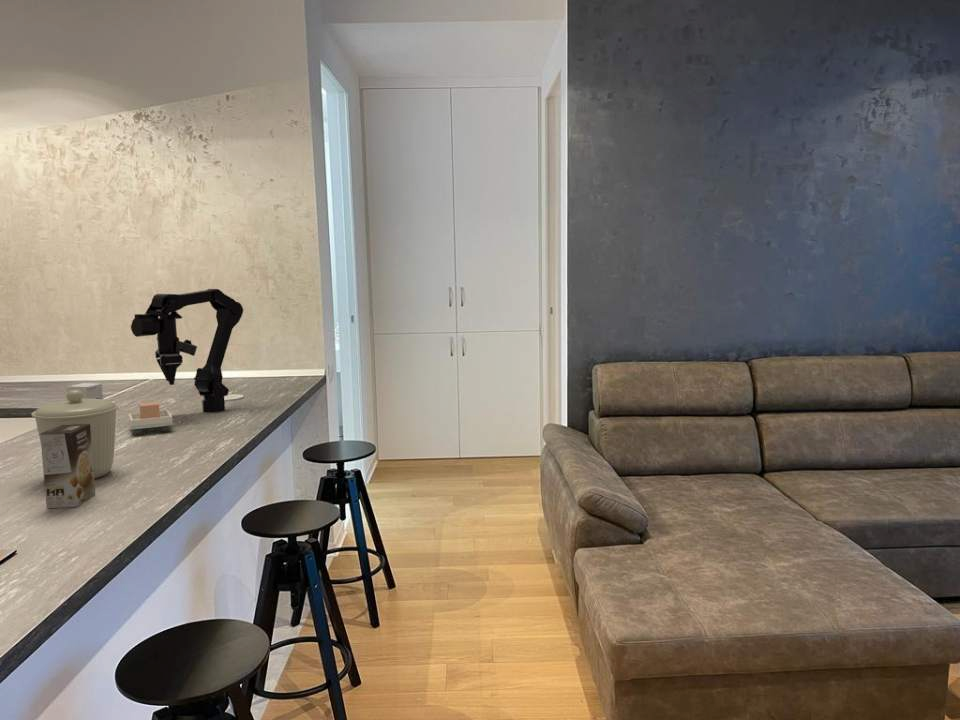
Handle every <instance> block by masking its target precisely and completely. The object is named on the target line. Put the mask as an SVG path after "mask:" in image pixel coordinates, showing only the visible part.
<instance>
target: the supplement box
mask: <svg viewBox="0 0 960 720" xmlns="http://www.w3.org/2000/svg"><path fill="white" fill-rule="evenodd" d="M71 390H80V391H81V392H82V393H83V399H104V396H103V395H104V394H103V393H104V392H103V385H102V383H101V382H100V383H99V382H98V383H97V382H82V383H77V384H73V385H68V386H66V394H67V393H68V392H69V391H71Z"/></svg>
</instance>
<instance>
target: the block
mask: <svg viewBox="0 0 960 720" xmlns="http://www.w3.org/2000/svg"><path fill="white" fill-rule="evenodd" d="M138 407H139V413H140V419H148V418H158V417H160V411H161V410H160V404H159V402H158V401H149V402H139V403H138Z"/></svg>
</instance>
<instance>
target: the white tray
mask: <svg viewBox="0 0 960 720" xmlns="http://www.w3.org/2000/svg"><path fill="white" fill-rule="evenodd" d="M159 411H160V417H158V418H148V419H140V412H135V413H134V412H133V413H128V423H129V427H130V431H131V430H133V434H134V435H137V436H138V437H139V435H140V436H142V435H143V434H142V433H143V429H147V428H148V429H149V428H150V429H151V428H157V427H159V428H160V427H161V430H162V431H163V432H165V433H170V431H171V426H174V425H173V423H174V422H173V416H172V414H171V412H170V411H169V410H168V409H164V410H159ZM137 436H136V437H137Z"/></svg>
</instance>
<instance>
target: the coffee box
mask: <svg viewBox="0 0 960 720" xmlns="http://www.w3.org/2000/svg"><path fill="white" fill-rule="evenodd" d="M40 436H41V442H40V446H41V457H42V469H43V483H44V493H45V494H44V495H45V503H46V505H45V506H46V509H62V508H63V509H64V508H77V507H79V506H80V505H83V504H84V502H86V501H88V500H89V499H91V498H92V497H93V496H95V495H96V484H95V481H96V480H95V479H94V468H93V455H92V442H91V430H90V424H70V425H60V426H58V427H55V428H53V429H50V430H48V431H46V432H43V433H41V434H40Z"/></svg>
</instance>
